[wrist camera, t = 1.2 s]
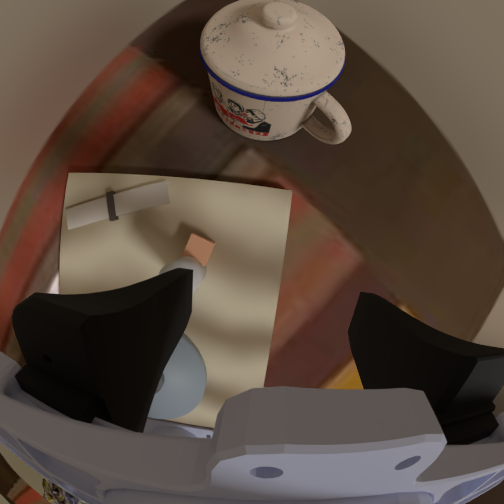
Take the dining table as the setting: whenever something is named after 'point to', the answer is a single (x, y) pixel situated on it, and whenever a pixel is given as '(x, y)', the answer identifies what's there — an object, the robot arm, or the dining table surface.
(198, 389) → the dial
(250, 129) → the teacup with lid
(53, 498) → the passion flower
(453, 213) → the dining table surface
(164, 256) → the cream flat board
